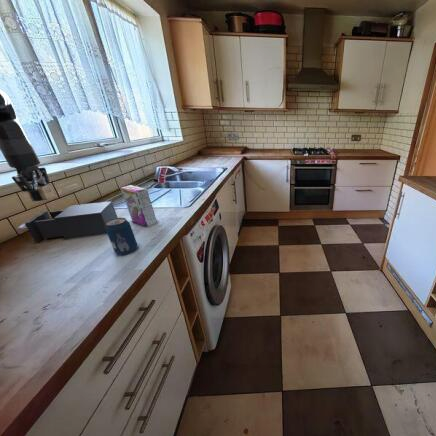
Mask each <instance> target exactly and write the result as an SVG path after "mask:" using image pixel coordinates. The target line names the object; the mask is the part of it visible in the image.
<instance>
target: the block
mask: <svg viewBox="0 0 436 436" xmlns="http://www.w3.org/2000/svg"><path fill="white" fill-rule="evenodd" d="M36 186H37V185H36ZM32 188H33V186H32ZM37 189H38V191H39V193H40V195H41V197H42V198H43V200H41V201H40V202H43V201H49V200H50V199H52V198H54V197H55V194H54V193H53V190H52V189H51V187H50V185H49V184H47V185H45V186H37ZM26 193H27V194H28V196H29V198H30V200H31V202H35V201H34V199H33V197H32V196H31V194H30V192H27V191H26Z"/></svg>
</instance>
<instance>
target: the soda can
mask: <svg viewBox="0 0 436 436" xmlns="http://www.w3.org/2000/svg"><path fill="white" fill-rule="evenodd" d="M105 230H106V232H107V237H108V239H109V241H110V244H111V246H112V249H113V251H114V252H115V253H116V254H117V255H120V256H125V255H129V254H131V253H134V252H135V251H136V250H137V249H138V242H137V239H136V236H135V233H134V230H133V228H132V225H131V222H130V221H128V220H127V217H118V218H115V219H112V220H109V221H107V222H106V227H105Z"/></svg>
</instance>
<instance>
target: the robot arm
mask: <svg viewBox="0 0 436 436" xmlns="http://www.w3.org/2000/svg"><path fill="white" fill-rule="evenodd" d="M0 152H1V154H2V156H3V157H4V160H5V161H6V163H7V165H8V167H10V168H12V169H15V170H16V174H17V175H14V176H12V177H11V179H12V180H13V182H14V183H15V184H16V185H17V187H18V188H19V189H20V190H21V191H22V192H26V193H27V192H30V194H31V196H32V197H33V199H34V201H33V202H42V201H41V200H43V198H42V197H41V195H40V193H39V191H38V189H37V186H45V185H48V184H50V179H49V176H48V172H47V169H46V167H39V165H40V164H41V160H39V159H40V158H39V157H38V155H37V153H36V151H35V149H34V147H33V145H32V143H31V142H30V140H29V139H28V137H27V135H26V133H25V131H24V129H23V128H22V126H21V124H20V122H19V119H18V117H17V114H16V111H15V108H14V105H13V103H12V101H11V99H10V97H9V96H8V95H7V94H6V93H5V92H4V91H2V90H1V89H0ZM32 187H33V188H32ZM43 201H44V200H43Z"/></svg>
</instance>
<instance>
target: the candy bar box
mask: <svg viewBox="0 0 436 436" xmlns="http://www.w3.org/2000/svg"><path fill="white" fill-rule="evenodd" d="M120 192H121V194H122V197H123V200H124V203H125V205H126V208H127V210H128V213H129V215H130V219H131V221H132V223H135V224H138V225H141V226H144V227H150V226H153V225H155V224H158V220H157V216H156V214H155V212H154V208H153V204H152V202H151V198H150V195H149V191H148V189H147V188H146V187H141V186H137V185H133V184H129V185H126V186H122V187H120Z"/></svg>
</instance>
